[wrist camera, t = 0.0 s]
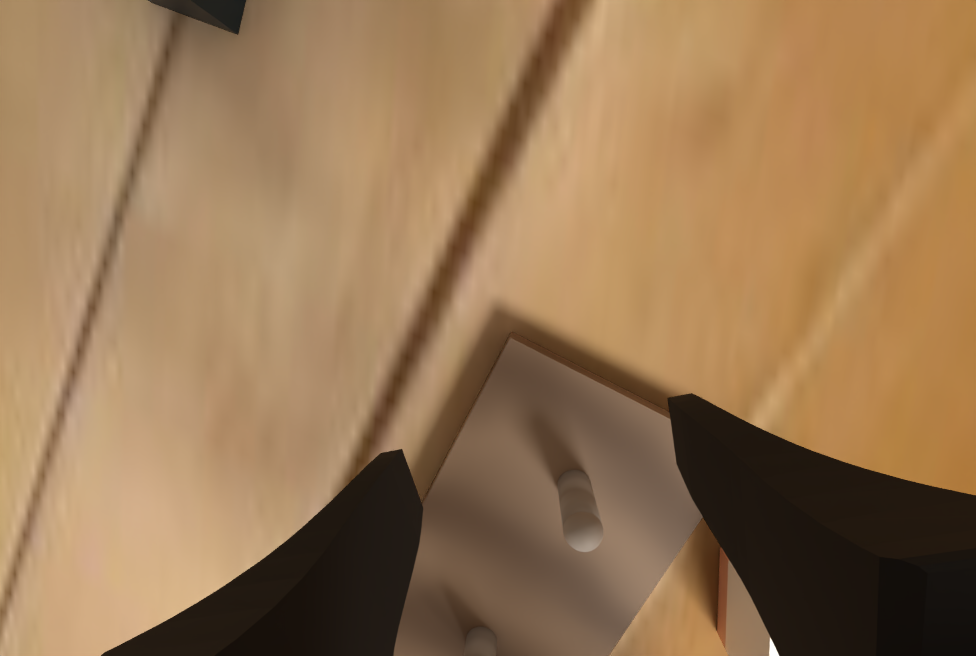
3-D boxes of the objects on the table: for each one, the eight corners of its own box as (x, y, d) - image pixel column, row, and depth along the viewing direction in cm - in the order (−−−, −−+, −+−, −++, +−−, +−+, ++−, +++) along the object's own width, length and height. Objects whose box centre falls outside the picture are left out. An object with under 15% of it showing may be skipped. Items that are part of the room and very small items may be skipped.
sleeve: (817, 634, 24) (892, 735, 19) (717, 632, 24) (765, 730, 19) (823, 547, 23) (904, 629, 18) (719, 547, 23) (770, 627, 18)
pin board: (538, 729, 26) (541, 862, 21) (352, 635, 26) (304, 743, 21) (729, 442, 22) (798, 509, 17) (511, 331, 22) (505, 360, 17)
